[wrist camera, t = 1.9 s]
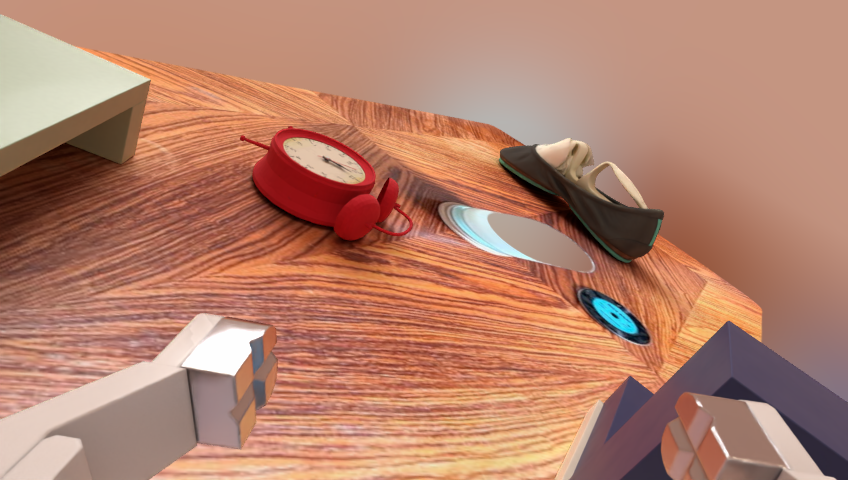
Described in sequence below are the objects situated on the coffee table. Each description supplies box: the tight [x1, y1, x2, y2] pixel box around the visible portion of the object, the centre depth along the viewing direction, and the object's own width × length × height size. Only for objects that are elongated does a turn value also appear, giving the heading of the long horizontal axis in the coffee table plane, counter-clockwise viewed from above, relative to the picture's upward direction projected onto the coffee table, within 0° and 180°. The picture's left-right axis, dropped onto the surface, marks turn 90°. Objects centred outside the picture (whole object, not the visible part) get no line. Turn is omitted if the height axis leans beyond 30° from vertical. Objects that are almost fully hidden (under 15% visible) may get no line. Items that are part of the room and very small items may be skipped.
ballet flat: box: [499, 138, 664, 263], centre depth 77 cm, size 10×30×10 cm, turn 41°
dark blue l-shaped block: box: [554, 321, 848, 480], centre depth 25 cm, size 16×6×14 cm, turn 145°
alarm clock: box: [240, 126, 413, 241], centre depth 42 cm, size 10×6×15 cm
